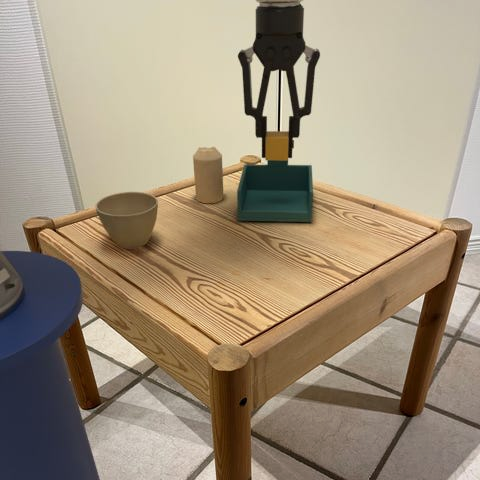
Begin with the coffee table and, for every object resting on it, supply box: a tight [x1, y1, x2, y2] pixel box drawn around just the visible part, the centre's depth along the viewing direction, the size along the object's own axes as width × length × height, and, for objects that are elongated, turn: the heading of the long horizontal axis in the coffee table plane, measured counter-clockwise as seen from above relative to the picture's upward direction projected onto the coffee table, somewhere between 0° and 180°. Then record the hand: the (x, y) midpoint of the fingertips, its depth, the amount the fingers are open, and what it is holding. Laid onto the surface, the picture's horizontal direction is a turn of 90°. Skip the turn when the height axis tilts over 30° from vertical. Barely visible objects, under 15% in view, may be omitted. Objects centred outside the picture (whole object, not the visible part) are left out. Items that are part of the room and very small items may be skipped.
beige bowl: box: [95, 191, 159, 250], centre depth 85 cm, size 10×10×7 cm
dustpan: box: [236, 139, 314, 223], centre depth 97 cm, size 18×13×10 cm
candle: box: [192, 146, 224, 204], centre depth 100 cm, size 6×6×10 cm
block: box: [264, 130, 289, 162], centre depth 92 cm, size 4×4×4 cm
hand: (277, 155), depth 93 cm, fingers closed on block, 4 cm apart
